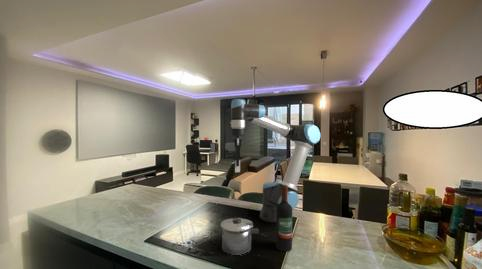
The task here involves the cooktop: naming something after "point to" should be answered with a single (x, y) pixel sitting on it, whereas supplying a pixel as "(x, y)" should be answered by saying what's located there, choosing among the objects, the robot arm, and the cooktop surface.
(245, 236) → the pot
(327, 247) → the cooktop surface
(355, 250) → the cooktop surface
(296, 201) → the robot arm
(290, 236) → the wine bottle
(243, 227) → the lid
